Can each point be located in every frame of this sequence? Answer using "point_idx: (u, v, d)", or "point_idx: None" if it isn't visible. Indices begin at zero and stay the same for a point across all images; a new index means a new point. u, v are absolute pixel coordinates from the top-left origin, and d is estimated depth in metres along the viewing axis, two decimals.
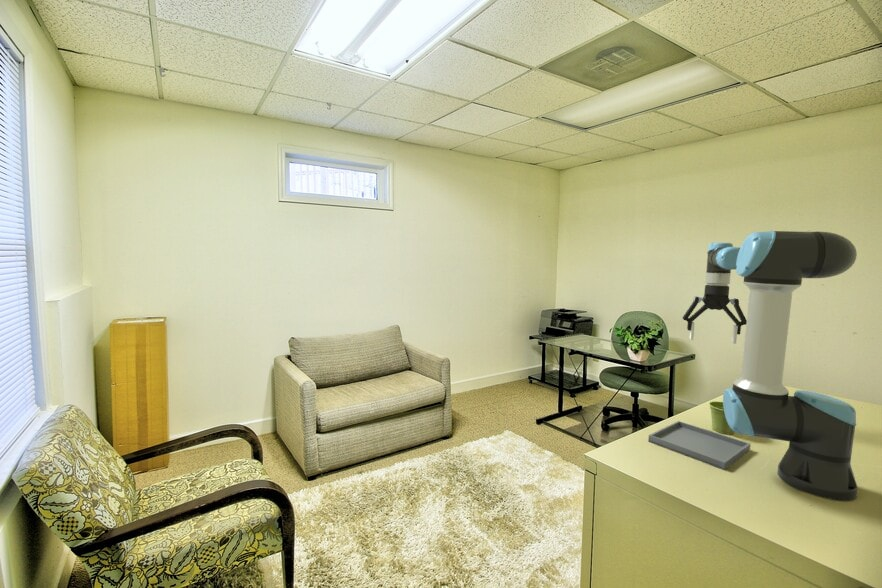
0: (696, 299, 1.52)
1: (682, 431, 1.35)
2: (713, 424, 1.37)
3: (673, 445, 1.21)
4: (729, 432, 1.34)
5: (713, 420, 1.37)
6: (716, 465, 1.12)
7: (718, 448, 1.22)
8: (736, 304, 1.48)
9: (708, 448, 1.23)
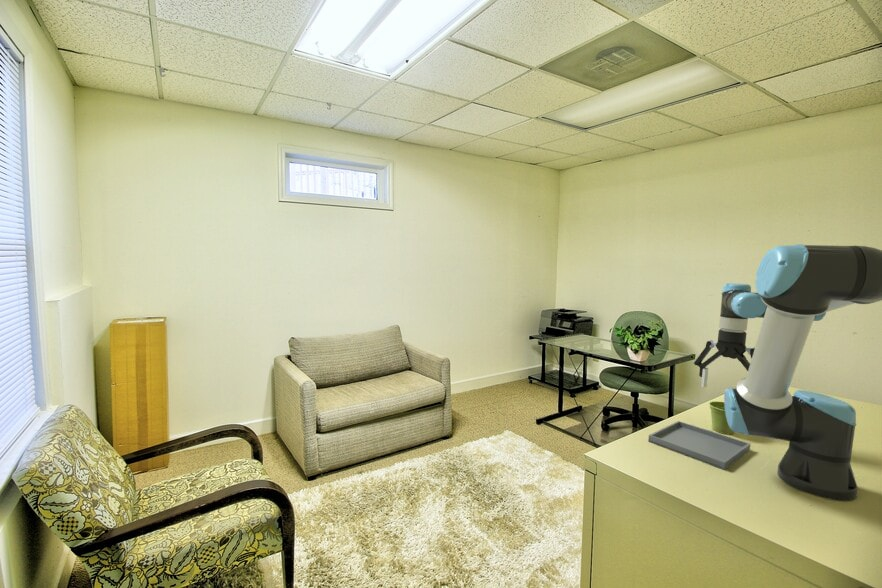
0: (707, 344, 1.39)
1: (682, 431, 1.35)
2: (713, 424, 1.37)
3: (673, 445, 1.21)
4: (729, 432, 1.34)
5: (713, 420, 1.37)
6: (716, 465, 1.12)
7: (718, 448, 1.22)
8: (751, 354, 1.29)
9: (708, 448, 1.23)
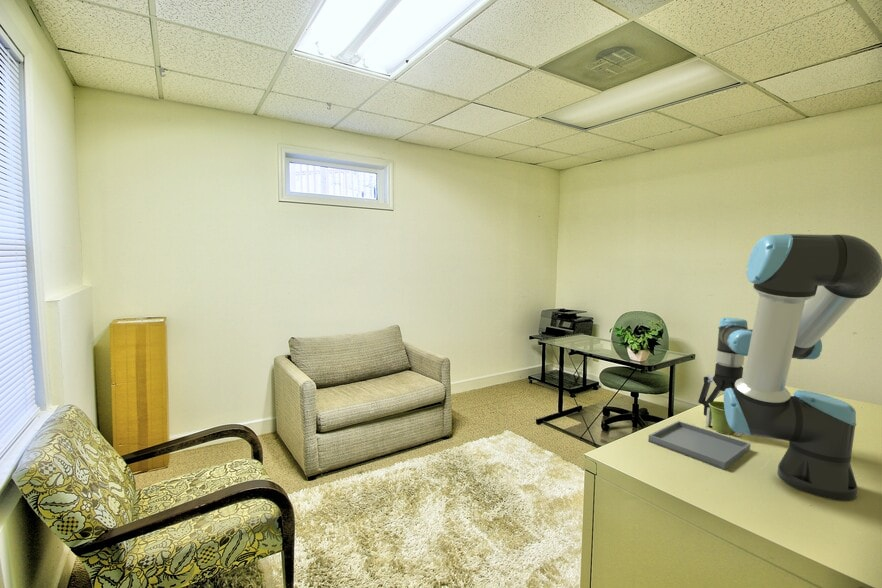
0: (705, 379, 1.40)
1: (682, 431, 1.35)
2: (713, 424, 1.37)
3: (673, 445, 1.21)
4: (729, 432, 1.34)
5: (713, 420, 1.37)
6: (716, 465, 1.12)
7: (718, 448, 1.22)
8: None
9: (708, 448, 1.23)
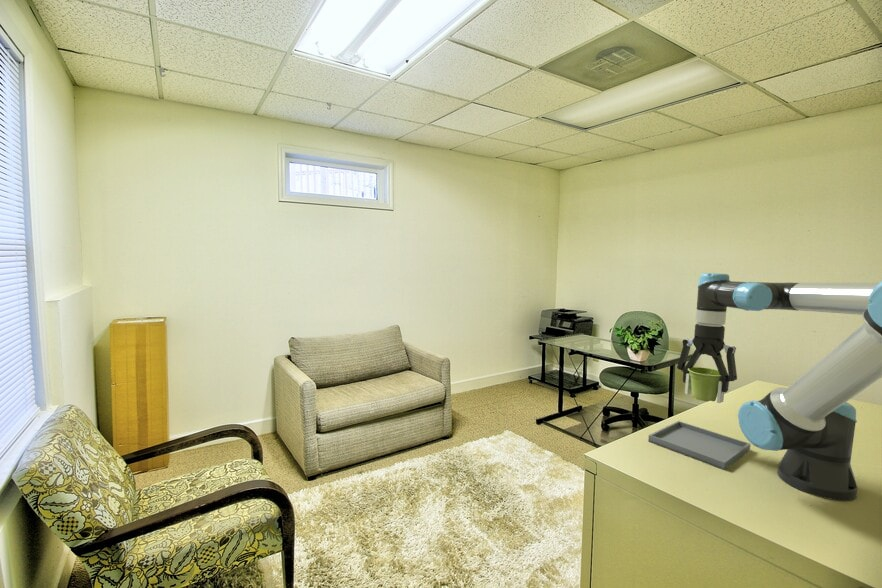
0: (684, 342, 1.27)
1: (682, 431, 1.35)
2: (692, 391, 1.25)
3: (673, 445, 1.21)
4: (709, 399, 1.21)
5: (692, 386, 1.24)
6: (716, 465, 1.12)
7: (718, 448, 1.22)
8: (728, 353, 1.18)
9: (708, 448, 1.23)
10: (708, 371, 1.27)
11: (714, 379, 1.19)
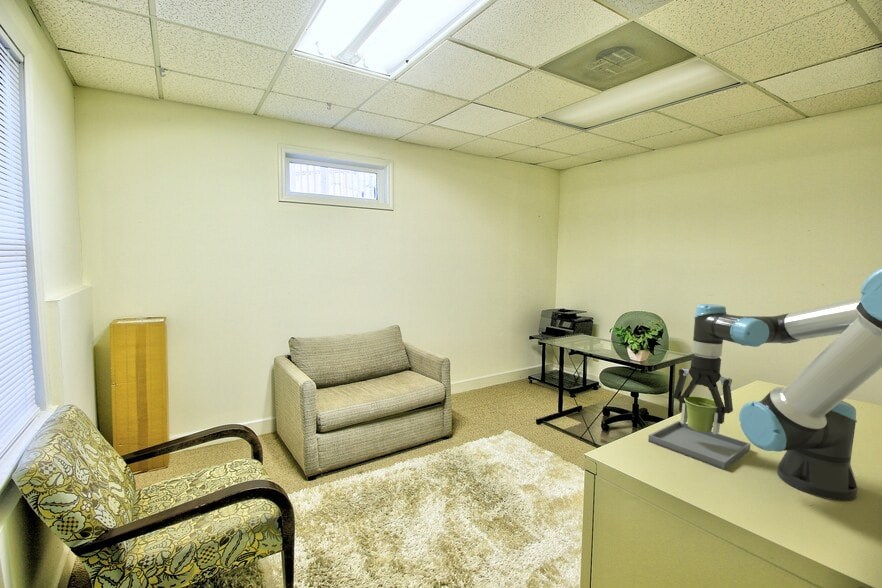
0: (680, 372, 1.27)
1: (682, 431, 1.35)
2: (688, 421, 1.25)
3: (673, 445, 1.21)
4: (705, 430, 1.22)
5: (688, 417, 1.25)
6: (716, 465, 1.12)
7: (718, 448, 1.22)
8: (724, 385, 1.18)
9: (708, 448, 1.23)
10: (704, 401, 1.27)
11: (710, 410, 1.20)
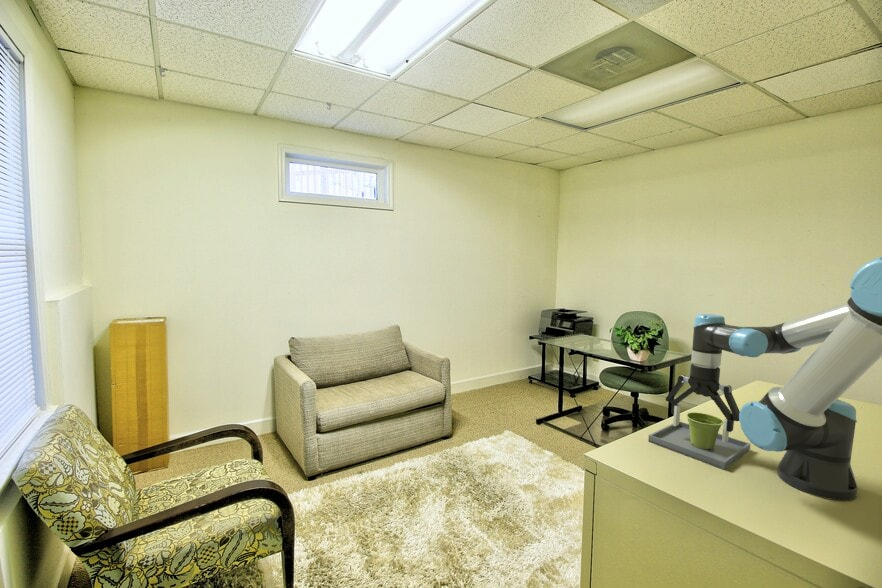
0: (679, 379, 1.28)
1: (682, 431, 1.35)
2: (691, 438, 1.24)
3: (673, 445, 1.21)
4: (708, 447, 1.21)
5: (691, 433, 1.24)
6: (716, 465, 1.12)
7: (718, 448, 1.22)
8: (725, 393, 1.18)
9: None
10: (706, 417, 1.27)
11: (713, 428, 1.19)
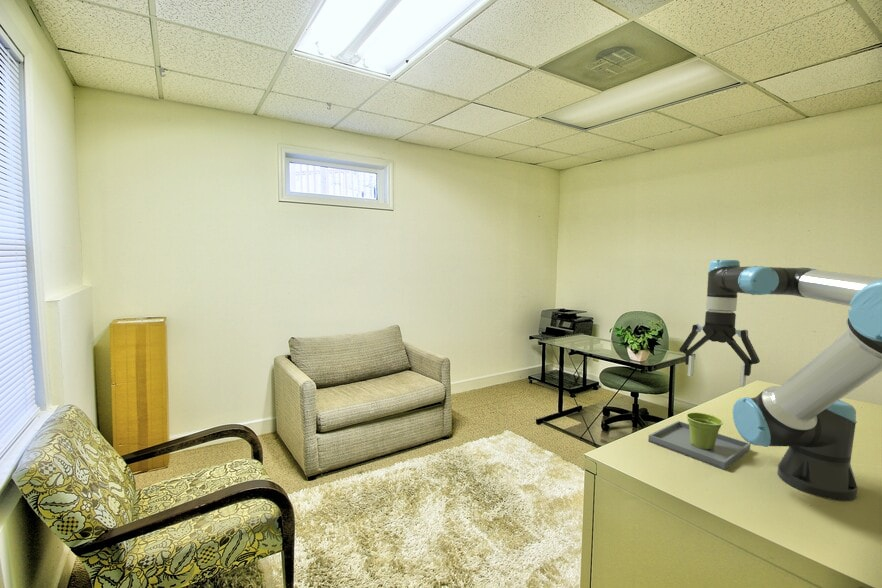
0: (693, 327, 1.26)
1: (682, 431, 1.35)
2: (691, 438, 1.24)
3: (673, 445, 1.21)
4: (708, 447, 1.21)
5: (691, 434, 1.24)
6: (716, 465, 1.12)
7: (718, 448, 1.22)
8: (742, 337, 1.17)
9: None
10: (706, 417, 1.26)
11: (713, 428, 1.19)
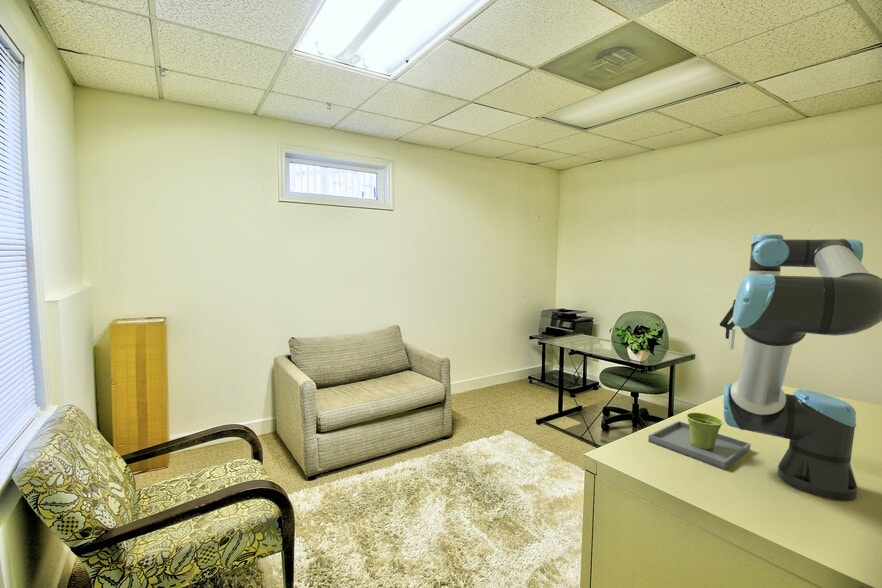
0: (735, 302, 1.29)
1: (682, 431, 1.35)
2: (691, 438, 1.24)
3: (673, 445, 1.21)
4: (708, 447, 1.21)
5: (691, 434, 1.24)
6: (716, 465, 1.12)
7: (718, 448, 1.22)
8: None
9: None
10: (706, 417, 1.26)
11: (713, 428, 1.19)
